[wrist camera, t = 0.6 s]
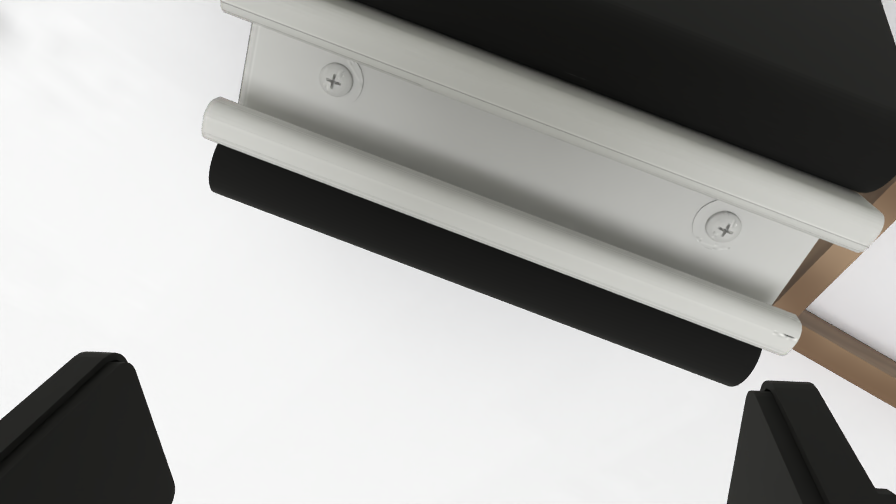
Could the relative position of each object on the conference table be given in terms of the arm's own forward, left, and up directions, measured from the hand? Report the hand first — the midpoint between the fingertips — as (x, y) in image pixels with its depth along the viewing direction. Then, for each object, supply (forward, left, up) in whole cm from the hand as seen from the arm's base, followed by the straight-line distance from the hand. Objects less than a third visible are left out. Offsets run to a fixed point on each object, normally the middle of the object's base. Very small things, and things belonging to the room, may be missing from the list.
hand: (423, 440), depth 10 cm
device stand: (0, +1, -28) cm, 28 cm away
